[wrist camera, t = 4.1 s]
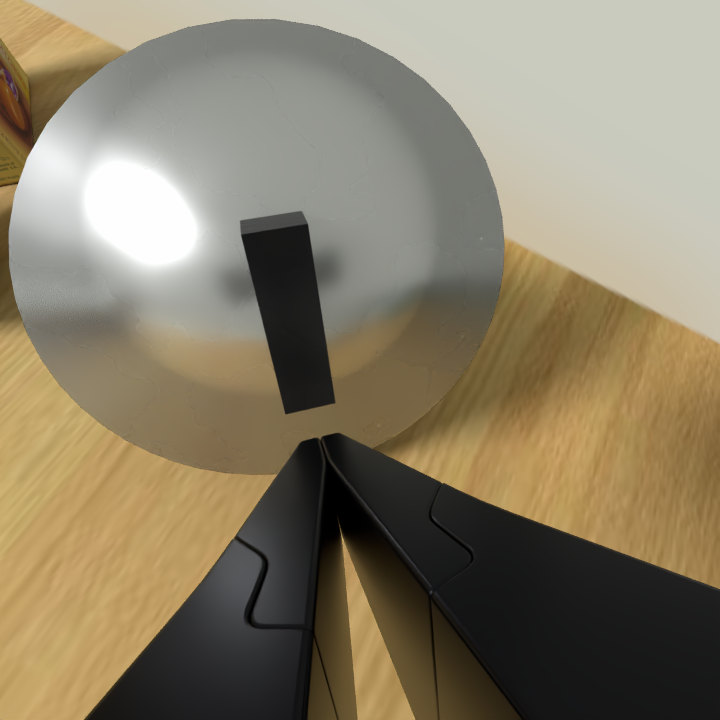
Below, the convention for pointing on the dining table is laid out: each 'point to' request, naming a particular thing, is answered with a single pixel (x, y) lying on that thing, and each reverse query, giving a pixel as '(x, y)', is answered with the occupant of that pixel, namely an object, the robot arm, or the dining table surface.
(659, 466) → the dining table surface
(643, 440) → the dining table surface
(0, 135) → the candy box
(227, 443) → the lid
